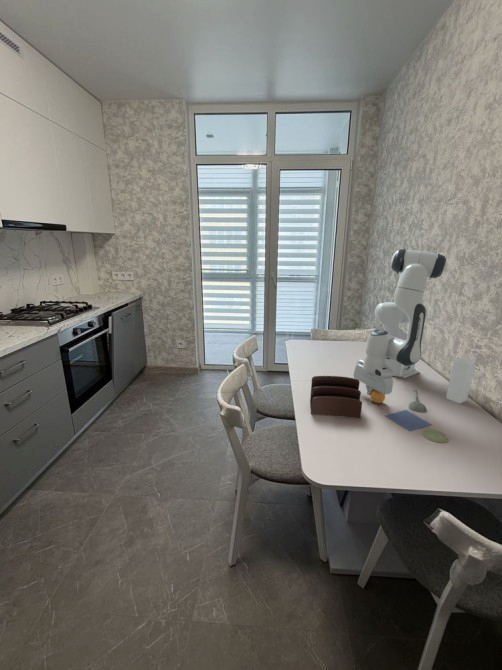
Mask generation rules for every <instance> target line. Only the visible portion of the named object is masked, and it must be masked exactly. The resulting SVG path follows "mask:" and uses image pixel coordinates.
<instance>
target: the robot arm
mask: <svg viewBox="0 0 502 670" xmlns="http://www.w3.org/2000/svg"><path fill="white" fill-rule="evenodd" d="M390 266H391V267H390V268H391V270H392V271H394V273H396V274H397V275H399V278H398V281H397V284H396V287H395V291H394V294H393V301H387V302H380V303H378V304H377V305H376V307H375V309H374V317H375V318H376V320H377V321H378V322H379V323H380V324H381V325H382V326H383V329H373V330H372V331H371V332H369V335H368V336H367V339H366V345H365V356H364V359H363V360H361V359H359V360H357V361H356V364H355V366H354V367H355V368H354V370H353V378H354V379H357V380H359V382H361V383H363V384H365V388H366V395H368V396H370V395H371V392H372V391H373V390H377V391H379V392H380V393H382V394H384V395H385V396H386V395H389V394H392V392H393V385H394V378H393V377H398V378H404V379H405V378H406V379H407V378H409V377H410V376H414V375H416V374H418V373H420V369H418V368H416V364H417V363H418V362H419V361H420V360H421V356H422V342H423V341H422V340H423V333H424V328H425V322H426V319H427V316H428V315H427V314H428V310H427V307H426V306H425V305H424V301H423V299H424V293H425V291H426V286H427V282H428V278H429V279H437V278H440V277H441V275H443V273H444V272H445V270H446V268H447V258H446V256H445V255H442V254H440V253H437V254H436V253H434V252H429V251H426V250H416V249H415V250H414V249H406V248H400V249H397V250H396V251H395V253H393V255H392V257H391V259H390ZM399 273H400V274H399ZM400 324H408V328H407V329H408V330H407V332H406V331H404V330H403V329H402V328H400Z"/></svg>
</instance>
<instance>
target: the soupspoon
mask: <svg viewBox="0 0 502 670" xmlns="http://www.w3.org/2000/svg"><path fill="white" fill-rule="evenodd" d="M413 392H414V396H415V401H412V402H411V401H410V402H409V404H408V408H409V410H411V411H412V412H414V413H415V412H416V413H422V414H423V413H426V411H427V407H426V405H424V404H423V403H422V402H419V399H418V395H417V393H418V390H417V389H413Z"/></svg>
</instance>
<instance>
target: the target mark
mask: <svg viewBox="0 0 502 670" xmlns="http://www.w3.org/2000/svg"><path fill="white" fill-rule="evenodd" d="M384 416H385V417H386V418H388V419H389V420H391V421H393V422H394V423H396V424H397V425H399V426H401V427H402V428H404V429H405V430H407V431H408V432H412V431H415V430H420V429H422V428H425V427H428V426H431V425H433V424H432V423H430V422H429V421H427V420H425V419H423V418H421V417H420V416H418V415H416V414H414V413H413V412H410V411H409V410H408V409H404V410H400V411H396V412H393V413H388V414H385V415H384Z"/></svg>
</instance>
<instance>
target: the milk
mask: <svg viewBox="0 0 502 670" xmlns="http://www.w3.org/2000/svg"><path fill="white" fill-rule="evenodd" d="M475 365H476V361H475V360H474V359H473V358H471V356H470V352H469V353H466V354H462V355H461V357H460V358H455V359H453V363H452V368H451V372H450V378H449V382H448V388H447V391H446V397H445V399H447V400H449V401H452V402H454V403H457V404H462V403H465V402H467V400H468V396H469V392H470V389H471V388H470V387H471V383H472V378H473V375H474V369H475Z"/></svg>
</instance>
